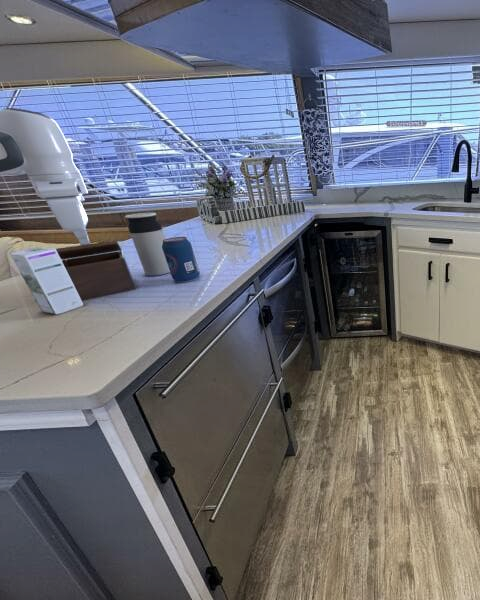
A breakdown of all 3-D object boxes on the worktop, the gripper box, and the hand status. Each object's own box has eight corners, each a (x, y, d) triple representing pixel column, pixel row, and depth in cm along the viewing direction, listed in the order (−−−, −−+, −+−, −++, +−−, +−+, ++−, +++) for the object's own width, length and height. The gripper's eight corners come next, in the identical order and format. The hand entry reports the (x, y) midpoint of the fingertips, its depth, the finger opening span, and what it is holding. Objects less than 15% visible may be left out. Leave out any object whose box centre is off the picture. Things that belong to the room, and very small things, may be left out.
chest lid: (117, 243, 83) (116, 240, 83) (49, 253, 76) (48, 249, 75) (121, 250, 93) (120, 247, 93) (62, 259, 85) (60, 256, 85)
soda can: (169, 281, 93) (154, 240, 89) (193, 274, 99) (181, 235, 94) (181, 284, 90) (167, 242, 85) (205, 277, 95) (193, 237, 90)
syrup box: (85, 305, 79) (57, 247, 73) (55, 315, 74) (22, 254, 68) (70, 303, 80) (42, 246, 75) (40, 313, 75) (7, 252, 70)
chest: (135, 288, 88) (123, 258, 85) (73, 302, 81) (57, 268, 77) (133, 279, 96) (122, 250, 93) (76, 290, 89) (62, 259, 86)
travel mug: (181, 270, 103) (162, 212, 96) (154, 277, 97) (132, 217, 90) (167, 267, 107) (148, 212, 100) (140, 274, 100) (118, 216, 93)
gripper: (47, 187, 82) (72, 241, 87) (35, 190, 67) (65, 254, 73) (81, 185, 85) (102, 236, 91) (76, 187, 71) (101, 248, 77)
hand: (86, 244), depth 82 cm, fingers closed
